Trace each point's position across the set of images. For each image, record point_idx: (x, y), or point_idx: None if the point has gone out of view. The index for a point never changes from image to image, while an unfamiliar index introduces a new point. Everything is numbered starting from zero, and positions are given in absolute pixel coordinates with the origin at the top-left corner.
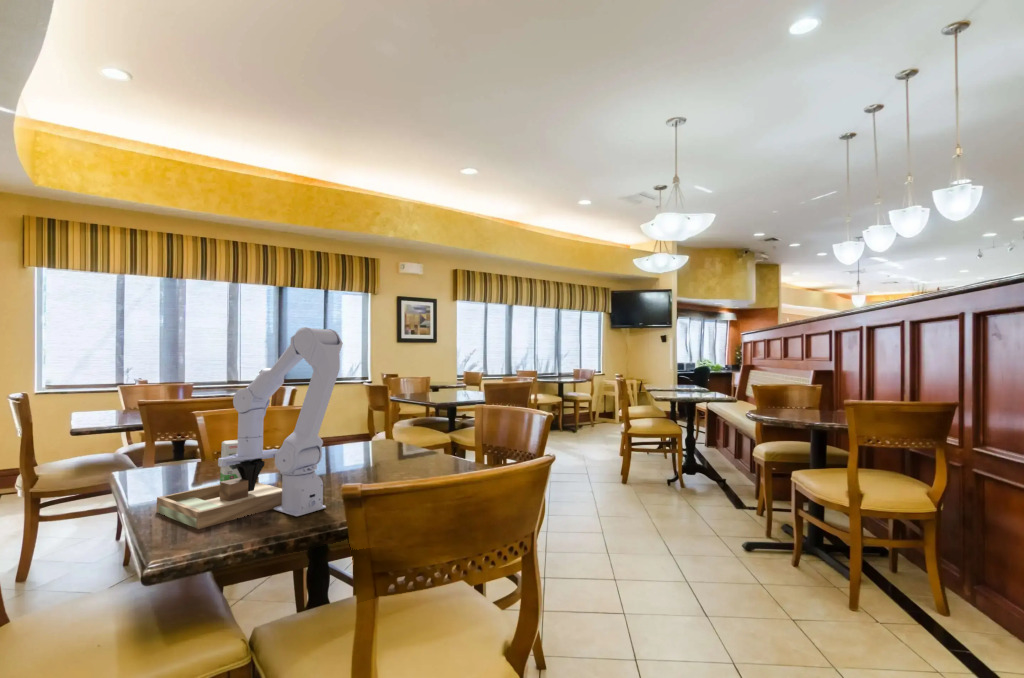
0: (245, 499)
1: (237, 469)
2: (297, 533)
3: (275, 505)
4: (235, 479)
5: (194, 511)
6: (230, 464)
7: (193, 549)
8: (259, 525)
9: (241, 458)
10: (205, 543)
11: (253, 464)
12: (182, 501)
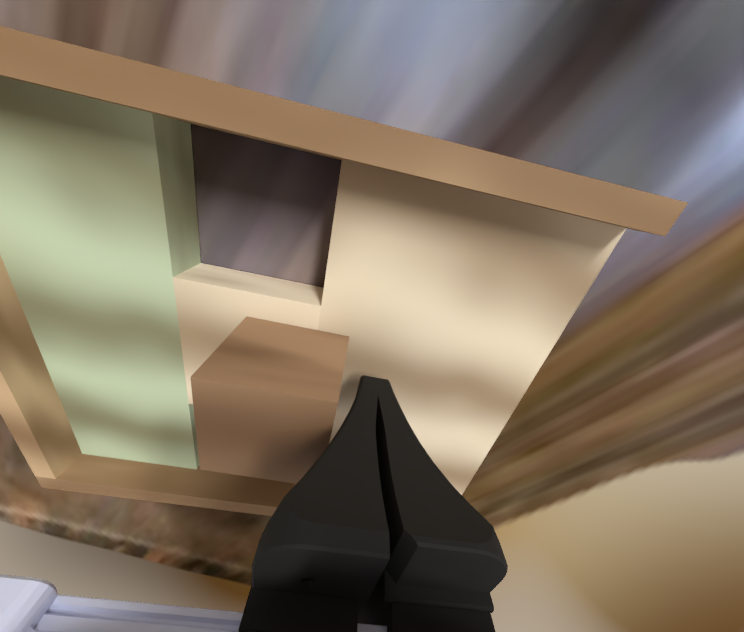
0: None
1: (306, 473)
2: (251, 578)
3: None
4: (297, 413)
5: (31, 463)
6: (126, 622)
7: (54, 510)
8: (232, 517)
9: None
10: (86, 506)
11: (363, 611)
12: (57, 159)
